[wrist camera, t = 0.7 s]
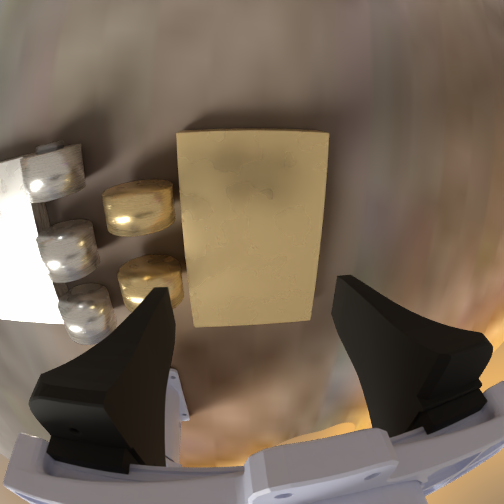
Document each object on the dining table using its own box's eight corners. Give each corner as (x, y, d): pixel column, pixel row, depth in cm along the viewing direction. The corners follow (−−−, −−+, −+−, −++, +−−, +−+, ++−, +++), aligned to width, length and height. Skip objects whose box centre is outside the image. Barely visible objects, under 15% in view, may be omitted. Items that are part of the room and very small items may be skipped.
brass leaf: (304, 305, 25) (318, 340, 21) (139, 312, 24) (128, 348, 20) (319, 130, 19) (344, 137, 15) (110, 138, 17) (84, 147, 14)
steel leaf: (123, 315, 24) (111, 350, 20) (9, 310, 23) (-11, 337, 19) (90, 134, 17) (60, 142, 13) (-34, 166, 16) (-65, 180, 12)
